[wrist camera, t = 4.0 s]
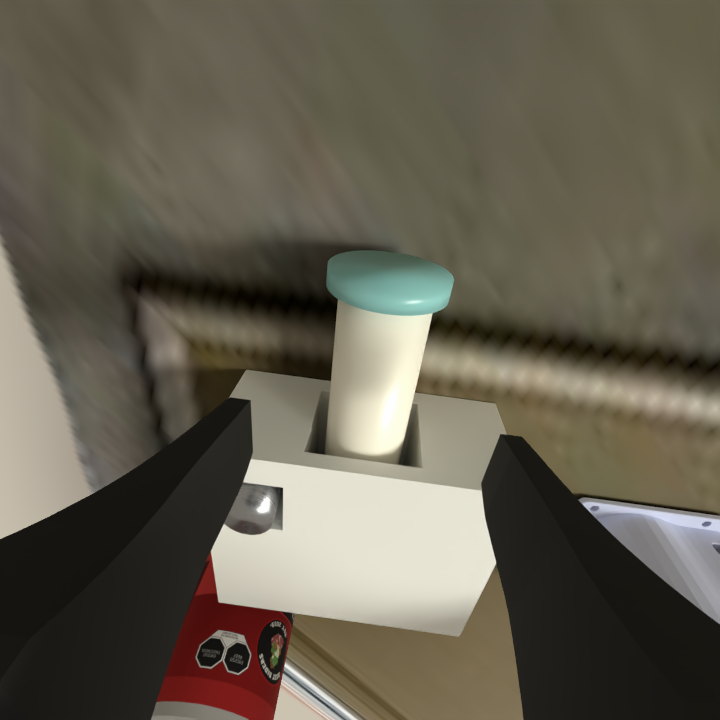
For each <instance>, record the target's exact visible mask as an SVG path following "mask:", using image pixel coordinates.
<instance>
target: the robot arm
mask: <svg viewBox="0 0 720 720" xmlns="http://www.w3.org/2000/svg"><path fill="white" fill-rule="evenodd" d="M252 454H253V439H252V417H251V400H246V399H239V398H232V397H230V398H228V399H227V400H225V401H224V402H223V403H222V404H220V405H219V406H218V407H217V408H215V409H214V410H213V411H212V412H210V413H209V414H208V415H207V416H206V417H204V418H203V419H202V420H201V421H199V422H198V423H197V424H196V425H194V426H193V427H192V428H190V429H189V430H188V431H187V432H185V433H184V434H183V435H181V436H180V437H179V438H177V439H176V440H175V441H173V442H172V443H171V444H169V445H168V446H167V447H165V448H164V449H162V450H161V451H160V452H158V453H157V454H155V455H154V456H152V457H151V458H150V459H148V460H147V461H145V462H144V463H142V464H141V465H139V466H138V467H136V468H135V469H133V470H132V471H130V472H129V473H127V474H126V475H124V476H122V477H121V478H119V479H117V480H116V481H114V482H112V483H111V484H109V485H107V486H106V487H104V488H102V489H100V490H99V491H97V492H95V493H93V494H92V495H90V496H88V497H86V498H84V499H82V500H80V501H78V502H77V503H74V504H72V505H71V506H69V507H67V508H65V509H63V510H61V511H59V512H57V513H55V514H54V515H51V516H50V517H47V518H45V519H43V520H41V521H39V522H37V523H35V524H33V525H31V526H28V527H27V528H24V529H22V530H20V531H18V532H16V533H13V534H11V535H9V536H6V537H4V538H2V539H0V720H151V718H152V715H153V712H154V709H155V705H156V702H157V699H158V696H159V693H160V690H161V687H162V684H163V681H164V678H165V675H166V672H167V669H168V666H169V663H170V660H171V656H172V653H173V651H174V648H175V645H176V642H177V639H178V636H179V633H180V630H181V628H182V625H183V622H184V619H185V616H186V613H187V610H188V608H189V605H190V602H191V599H192V597H193V594H194V591H195V589H196V586H197V583H198V580H199V578H200V575H201V572H202V570H203V568H204V565H205V563H206V561H207V558H208V556H209V554H210V552H211V550H212V548H213V546H214V543H215V541H216V539H217V537H218V535H219V533H220V531H221V529H222V527H223V525H224V522H225V520H226V518H227V516H228V514H229V512H230V510H231V508H232V506H233V503H234V501H235V499H236V497H237V495H238V493H239V491H240V488H241V486H242V484H243V481H244V478H245V475H246V473H247V470H248V467H249V463H250V460H251V457H252ZM481 488H482V498H483V506H484V514H485V519H486V524H487V528H488V532H489V536H490V540H491V544H492V548H493V552H494V556H495V560H496V564H497V567H498V571H499V575H500V579H501V583H502V587H503V591H504V595H505V599H506V604H507V608H508V613H509V618H510V625H511V631H512V637H513V644H514V650H515V656H516V664H517V671H518V679H519V686H520V693H521V701H522V709H523V718H524V720H720V516H717V515H710V514H703V513H695V512H688V511H681V510H674V509H666V508H659V507H652V506H645V505H637V504H630V503H623V502H616V501H608V500H601V499H594V498H581V499H579V500H578V499H577V498H576V497H575V496H574V495H573V494H572V493H571V492H570V490H569V489H568V488H567V487H566V486H565V485H564V484H563V483H562V482H561V480H560V479H559V478H558V477H557V476H556V475H555V474H554V473H553V471H552V470H551V469H550V468H549V467H548V466H547V465H546V463H545V462H544V461H543V460H542V459H541V458H540V457H539V455H538V454H537V453H536V452H535V451H534V450H533V449H532V447H531V446H530V445H529V444H528V443H527V442H526V441H525V440H524V439H523V438H522V437H520V436H512V435H505V434H500V436H499V439H498V441H497V444H496V446H495V449H494V451H493V454H492V457H491V459H490V462H489V464H488V467H487V469H486V472H485V474H484V477H483V479H482V482H481Z"/></svg>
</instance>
